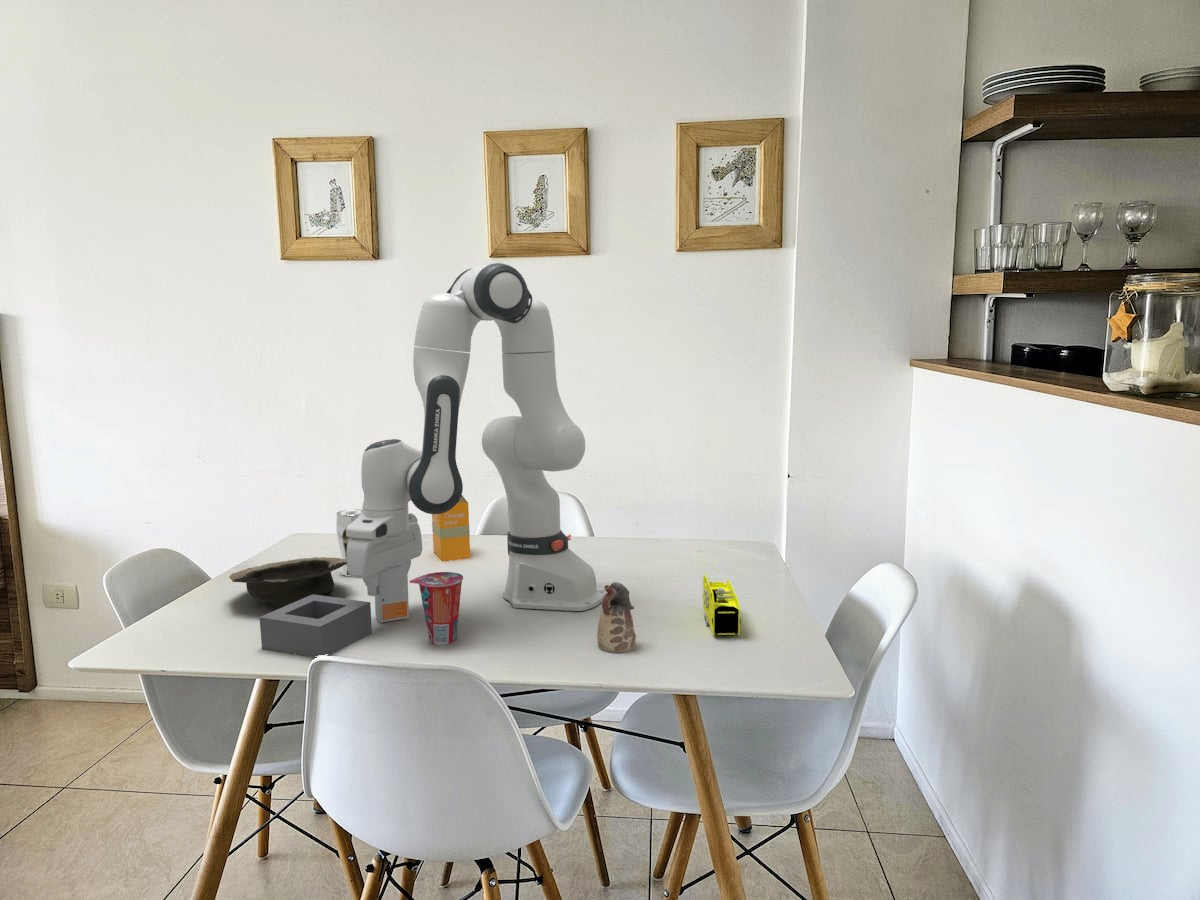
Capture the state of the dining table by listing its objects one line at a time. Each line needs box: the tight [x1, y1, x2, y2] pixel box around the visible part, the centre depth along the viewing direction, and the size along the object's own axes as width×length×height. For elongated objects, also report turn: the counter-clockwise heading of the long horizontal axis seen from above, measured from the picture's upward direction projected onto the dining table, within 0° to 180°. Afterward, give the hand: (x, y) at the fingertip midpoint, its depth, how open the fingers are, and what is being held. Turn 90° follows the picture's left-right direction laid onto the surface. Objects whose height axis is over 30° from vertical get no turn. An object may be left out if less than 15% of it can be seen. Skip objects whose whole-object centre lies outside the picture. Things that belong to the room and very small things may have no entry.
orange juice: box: [431, 494, 471, 562], centre depth 212 cm, size 8×9×20 cm
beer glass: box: [336, 508, 363, 577], centre depth 199 cm, size 7×7×15 cm
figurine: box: [596, 581, 637, 654], centre depth 151 cm, size 7×7×12 cm
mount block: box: [259, 594, 373, 658], centre depth 157 cm, size 14×14×6 cm
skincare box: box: [374, 559, 410, 624], centre depth 168 cm, size 6×4×12 cm
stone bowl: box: [228, 556, 347, 611], centre depth 182 cm, size 25×25×9 cm
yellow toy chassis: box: [702, 573, 742, 637], centre depth 162 cm, size 16×6×8 cm, turn 0°
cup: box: [408, 571, 464, 646], centre depth 155 cm, size 9×8×12 cm
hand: (388, 588), depth 167 cm, fingers open, 8 cm apart
